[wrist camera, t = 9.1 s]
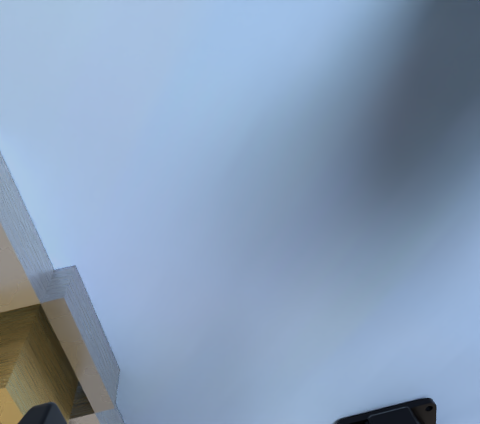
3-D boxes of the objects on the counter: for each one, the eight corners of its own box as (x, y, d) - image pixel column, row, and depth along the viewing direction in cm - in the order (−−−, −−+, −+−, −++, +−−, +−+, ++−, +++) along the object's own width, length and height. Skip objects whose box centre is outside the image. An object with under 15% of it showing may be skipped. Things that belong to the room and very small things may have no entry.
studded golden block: (82, 362, 24) (53, 484, 18) (8, 380, 23) (-46, 510, 18) (46, 288, 21) (-1, 401, 15) (-37, 308, 21) (-116, 429, 15)
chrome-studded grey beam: (156, 456, 27) (155, 511, 25) (37, 486, 27) (21, 545, 24) (7, 107, 17) (-26, 130, 14) (-187, 148, 17) (-261, 181, 14)
